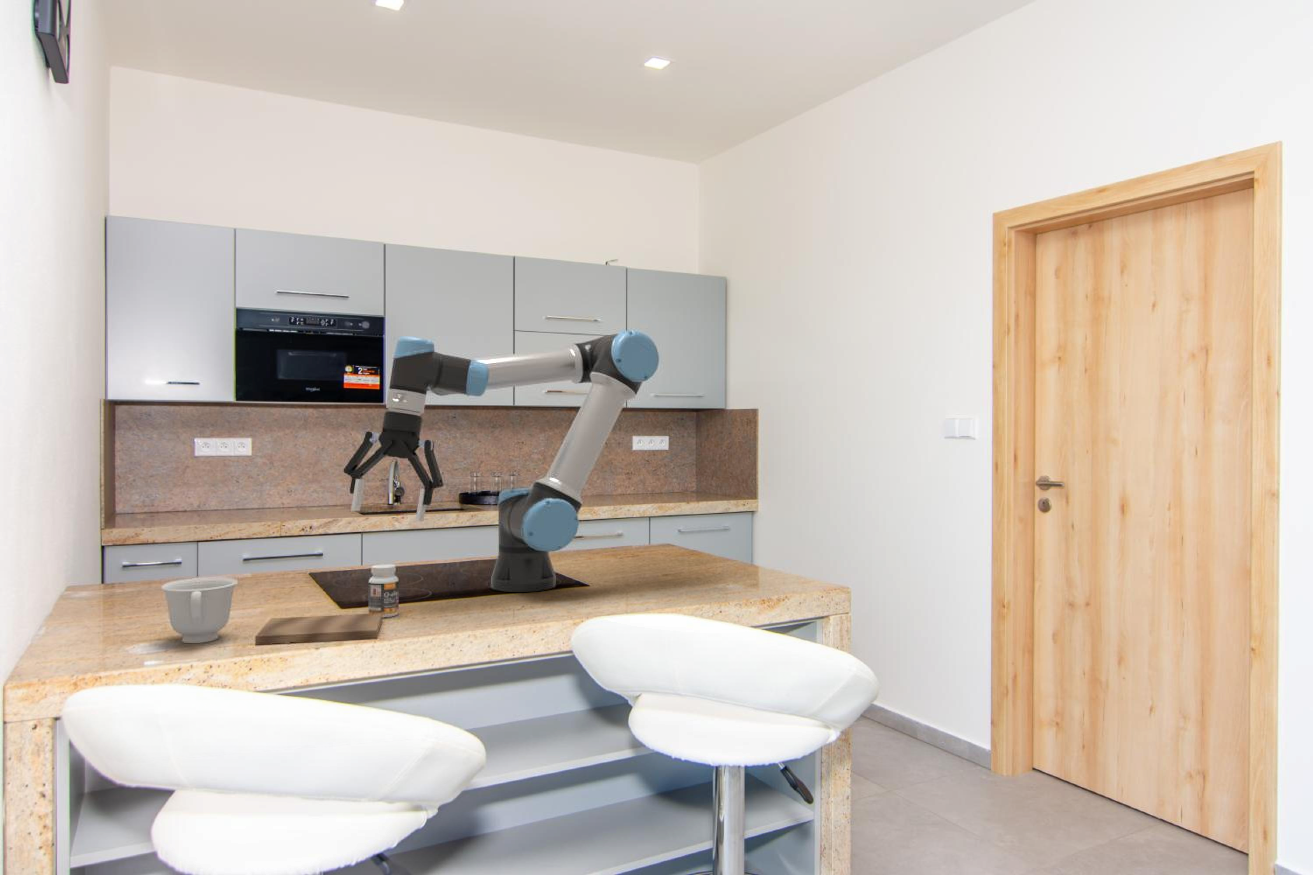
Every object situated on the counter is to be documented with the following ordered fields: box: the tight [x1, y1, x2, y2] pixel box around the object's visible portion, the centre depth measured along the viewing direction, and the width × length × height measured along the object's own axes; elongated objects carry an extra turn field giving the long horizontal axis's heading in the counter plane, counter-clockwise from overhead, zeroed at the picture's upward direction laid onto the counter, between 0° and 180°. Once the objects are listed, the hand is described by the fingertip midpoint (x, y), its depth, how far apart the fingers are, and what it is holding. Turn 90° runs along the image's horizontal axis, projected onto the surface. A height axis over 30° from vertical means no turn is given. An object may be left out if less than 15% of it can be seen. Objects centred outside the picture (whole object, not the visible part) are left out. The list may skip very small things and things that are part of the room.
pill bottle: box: [368, 563, 400, 619], centre depth 172 cm, size 6×6×10 cm
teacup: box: [160, 576, 239, 644], centre depth 151 cm, size 12×15×10 cm
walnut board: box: [254, 613, 383, 646], centre depth 158 cm, size 20×14×2 cm
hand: (387, 515), depth 175 cm, fingers open, 13 cm apart
